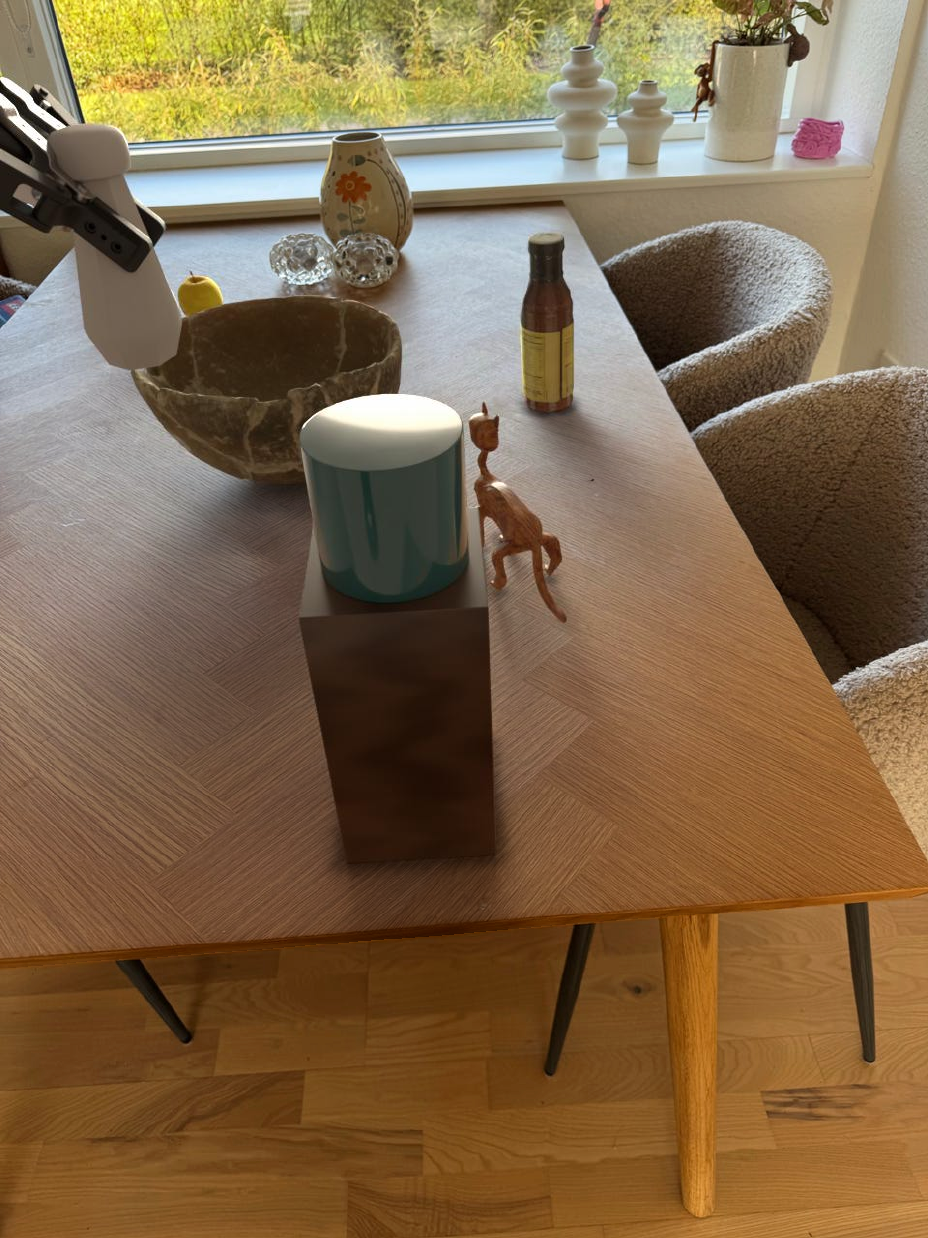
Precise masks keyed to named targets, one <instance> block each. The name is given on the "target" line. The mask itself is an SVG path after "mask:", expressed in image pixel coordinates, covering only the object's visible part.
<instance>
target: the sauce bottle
mask: <svg viewBox="0 0 928 1238" xmlns="http://www.w3.org/2000/svg"><path fill="white" fill-rule="evenodd" d="M526 248H527V250H526V251H527V252H528V256H529V257H528V259H529V272H528V282H527V287H526V290H525V293H524V295H523V297H522V302H521V307H520V313H519V321H520V322H519V323H520V325H519V326H520V347H521V349H520V350H521V381H522V386H521V387H522V394H523V395H524V397H523V398H524V403H525V405H526V406H527V407H528V408H529V409H531V410H533V411H536V412H539V413H544V414H545V413H553V412H561V411H563V410H566V409H568V408H569V407H570V406H571V405H572V403H573V401H574V394H573V393H574V390H575V319H574V300H573V298H572V292H571V289H570V287H569V286H568V284H567V281H566V280H565V278H564V270H563V267H564V263H563V262H564V261H563V259H564V257H563V255H564V254H563V252H564V250H565V248H566V244H565V236H564V235H563V234H561V233H559V232H554V231H553V232H552V231H547V232H545V231H542V232H537V233H533V234H531V235H530V236H529V237H527V247H526Z"/></svg>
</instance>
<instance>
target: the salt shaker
mask: <svg viewBox="0 0 928 1238" xmlns="http://www.w3.org/2000/svg"><path fill="white" fill-rule="evenodd" d="M126 139H127V138H126V137H125V134H124V133H123V132H122V131H121V130H120V129H119V128H117V127H116V126H115V125H111V124H105V123H98V122H97V123H96V122H92V123H89V122H88V123H78V125H71V126H67V127H63V128H61V129H58V130H56V131H54V132H52V133H51V134H50V136H49V138H48V140H47V142H49V143H50V145H51V147H52V148H53V150H54V152H55V154H56V156H57V163H58V166H59V167H60V168H61V169H62V170H63V171H64V172H65V173H66V174H67V175H68V176H70V177H71V178H72V179H73V180H76V181H79V182H81V183H82V184H83V185H84V186H85V187H86V188H87V189H88V190H89V191H90V192H91V193H92V196H93V197H92V198H91V200H90V202H91V203H92V201H93V200H94V199H95V198H96V197H98V198H99V199H101V200H102V201H103V202H104V203H106V204H107V205H108V206H109V207H111V208H112V209H113V210H114V211H116V212H117V213H118V214H120V215H121V216H122V217H123V218H125V219H126V220H127V221H128V222H130V223H131V224H132V225H133V226H135V227H136V228H137V229H139V230H140V231H141V232H142V233H144V234H145V235H146V236H147V237H149V236H148V233H147V231H146V228H145V226H144V224H143V221H142V219H141V216H140V214H139V212H138V209H137V207H136V204H135V202H134V200H133V197H132V196H133V194H132V193H131V190H130V187H129V185H128V183H127V180H126V178H125V176H124V174H125V173H127V172H128V171H129V170H131V169H132V159H131V158H132V157H131V153H130V148H129V147H130V146H129V144H128V142H127V140H126ZM72 237H73V245H74V246H73V247H74V255H75V262H76V270H77V278H78V279H77V280H78V288H79V295H80V303H81V313H82V321H83V329H84V331H85V333H86V336H87V338H88V339H89V340H90V342H91V343H92V344H93V346H94V347H95V348H96V350H98V352H99V353H100V355H101V356H102V357H103V358H104V360H105V361H106V362H107V364H108V365H110V366H113V367H116V368H119V369H122V370H126V371H131V370H136V369H139V370H141V369H142V370H143V369H146V368H149V367H155V366H160V365H161V364H163V363H164V362H166V361H167V360H169V359H170V358H172V357H173V356H175V355H176V354H177V348H178V343H179V337H180V332H181V326H182V318H183V316H182V311H181V307H180V305H179V303H178V300H177V299H176V297H175V294H174V292H173V290H172V288H171V286H170V283H169V281H168V279H167V276H166V274H165V271H164V269H163V267H162V264H161V263H160V260H159V258H158V255H157V253H156V250H155V247H154V248H153V246H152V250H151V251H150V253H149V254H148V255H147V257H146V258H145V260H144V261H143V263H142V264H141V265H140V267H139V268H138V270H137V271H136V272H133V273H130V272H127V271H125V270H124V269H123V268H121V267H120V266H119V265H117V264H116V263H115V262H113V261H112V260H111V259H109V258H108V257H107V256H105V255H104V254H103V253H102V252H100V251H99V250H98V249H96V248H95V247H94V246H92V245H91V244H90V243H88V242H87V241H86V240H84V239H83V238H82V237H81V236H79V235H78V234H77V233H75V232H74V230H73V229H72Z"/></svg>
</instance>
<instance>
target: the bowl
mask: <svg viewBox="0 0 928 1238" xmlns="http://www.w3.org/2000/svg"><path fill="white" fill-rule="evenodd" d="M400 331H401V330H400V329H399V326H398V324H397V322H396V321H395V319H394V318H392V317H391V316H390V315H389V314H387V313H386V312H383V311H381V310H379V309H377V308H375V307H373V306H371V305H369V304H366V303H364V302H362V301H357V300H353V299H346V300H344V301H343V299H342V298H341V297H333V296H326V295H319V294H318V295H316V294H315V295H309V294H308V295H307V294H306V295H287V296H281V297H279V296H278V297H277V296H276V297H264V298H253V299H248V300H247V299H246V300H242V301H233V302H228V303H223V305H220V306H216V307H213V308H209V309H207V310H204V311H202V312H199V313H194V314H191V315H190V316H188V317H186V316H184V317H182V326H181V332H180V337H179V343H178V348H177V354H176V355H175V356H173V357H172V358H170V359H169V360H167V361H166V362H164V363H163V364H161V365H160V366H155V367H149V368H145V370H143V369H142V370H141V369H136V370H130V375H131V377H132V380H133V384H134V385H135V387H136V389H137V391H138V393H139V394H140V396H141V397H142V399H143V402H145V404H146V405H147V408H149V410H150V411H151V412H152V414H153V415H154V417H155V418H156V420H157V421H158V422H159V423H160V424H161V426H162V427H163V428H164V429H165V430H166V432H167V433H168V434H169V435H170V436H171V438H172V439H174V440H175V441H176V442H177V443H178V444H179V445H180V446H181V447H183V448H184V449H185V450H186V451H187V452H189V453H190V454H191V455H193V456H194V457H195V458H197V459H198V460H200V461H201V462H203V463H204V464H206V465H208V466H210V467H211V468H213V469H216V470H217V471H220V472H221V473H224V474H225V475H228V476H231V477H233V478H237V479H239V480H249V481H253V482H255V483H263V484H274V485H277V484H280V485H289V484H301V483H306V478H305V472H304V466H303V460H302V455H301V449H300V443H299V435H300V432H301V430H302V428H303V426H304V425H305V424H306V422H307V421H308V420H309V419H310V418H312V417H313V416H314V415H316V414H317V413H319V412H320V411H322V410H324V409H326V408H328V407H330V406H332V405H335V404H338V403H340V402H343V401H347V400H351V399H354V398H359V397H365V396H372V395H382V394H399V392H400V386H401V382H402V363H403V341H402V336H401V332H400Z"/></svg>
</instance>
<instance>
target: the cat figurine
mask: <svg viewBox="0 0 928 1238" xmlns="http://www.w3.org/2000/svg"><path fill="white" fill-rule="evenodd" d="M488 413H489V410H488V408H487V404H486V402H485V401H482V404H481V412H479V413H476V414H475V413H474V414H473V415H472V416H470V417H469V419H468V429H469V437H470V441H471V442H472V443H473V445H474V446H475V447H476V448H477V449H479V450H480V452H479V454H478V456H477V465H478V468H479V471H480V474H479V476H477V479H476V480H475V481H474V483H473V490H474V493H475V496H476V500H477V504H478V505H477V506H476V507H478V508H479V516H480V526H481V535H482V545H483V549H484V548H485V520H486V518H488V519H492V521H493V522H494V524H495V525H496V526H497V528H498V530H499V531H500V533H501V534H500V535H498V539H499V541H500V542H499V543H498V544H497V545H495V546H494V547H493V550H492V552H491V558H490V559H491V562H492V563H491V564H492V566H493V569H494V571H495V576H494V578H493V580H491V581H490V584H491V586H492V588H493V589H495V590H497V591H502V590H503V589H504V588H505V587H506V586H507V583H508V576H507V574H506V569H505V562H504V558H506V557H508V556H512V555H518V554H521V553H525V552H528V551H530V552H531V561H532V562H531V564H532V570H533V577H534V581H535V584H536V587H537V590H538V593H539V595H540V597H541V599H542V601H543V603H544V604H545V606H546V607H547V608H548V610H549V611H550V612H551V614H552V615H553V616H554V617H555V618H556V619H557V620H558V621H559V622H561V623H567V621H568V618H567V615H566V614H565V612H564V611H563V610H562V609H561V607H560V606H559V605H558V604H557V602H556V601H555V599H554V598H553V596H552V594H551V591H550V590H549V588H548V586H547V583H546V579H545V573H546V574H547V575H548V576H552V575H553V573H554V572H555V571H556V570H557V568H558V567H560V564H561V563H562V562H563V555H562V549H561V542H560V540H559V538H558V536H556V535H554V534H552V533H551V532H543V523H542V521H541V519H540V518H539V517H538V516H537V515H536V514H535V513H534V512H533V511H532V510H531V509H530V508H529V507H527V506H526V504H525V503H524V502H523V501H522V499H521V498H519V496H518V495H517V494H516V493H515V491H514V490H513V489H511V488H510V487H509V486H508V485H507V484H505V483H504V482H503V481H501V479H499V478H498V477H497V476H496V475H494V474H493V473H491V472H490V470H489V469H488V466H487V460H488V456H489V453H492V452H494V451H496V450H497V449H498V448H499V444H500V441H499V431H500V430H499V425H500V424H499V423H500V415H499V414H496V415H495V416H494V417H492V416H490V415H489V414H488ZM542 549H544V551H545V553H546V554H547V556H548V558H549V562H548V563H547V564H545V566H543V565H544V564H543V563H544V562H543V550H542ZM544 571H545V573H544Z"/></svg>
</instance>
